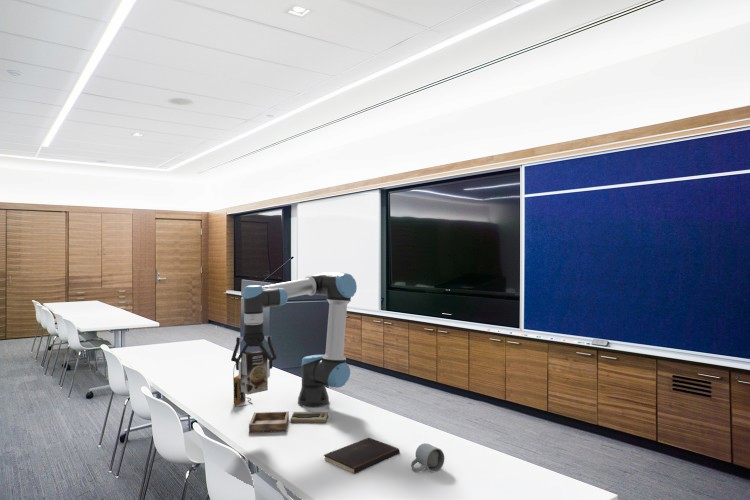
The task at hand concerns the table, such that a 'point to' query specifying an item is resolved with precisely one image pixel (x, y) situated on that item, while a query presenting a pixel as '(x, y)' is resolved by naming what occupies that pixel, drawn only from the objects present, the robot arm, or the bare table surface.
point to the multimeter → (238, 391)
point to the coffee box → (254, 372)
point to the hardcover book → (361, 455)
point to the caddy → (269, 422)
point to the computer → (309, 417)
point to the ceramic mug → (428, 458)
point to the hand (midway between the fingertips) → (254, 377)
